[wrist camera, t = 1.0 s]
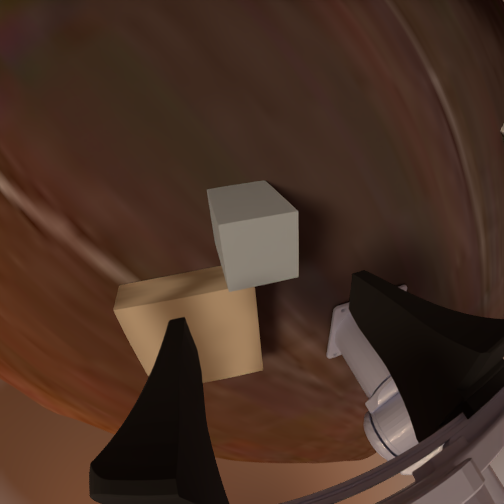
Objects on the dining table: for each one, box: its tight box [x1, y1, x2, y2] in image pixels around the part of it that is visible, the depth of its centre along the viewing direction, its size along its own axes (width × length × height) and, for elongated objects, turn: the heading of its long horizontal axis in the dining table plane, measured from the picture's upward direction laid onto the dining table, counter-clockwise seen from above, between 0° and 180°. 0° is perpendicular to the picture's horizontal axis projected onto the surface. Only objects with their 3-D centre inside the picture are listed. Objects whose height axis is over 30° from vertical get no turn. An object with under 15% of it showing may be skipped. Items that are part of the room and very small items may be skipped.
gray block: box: [207, 181, 299, 292], centre depth 17 cm, size 4×4×6 cm
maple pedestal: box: [114, 266, 263, 383], centre depth 22 cm, size 10×10×3 cm
